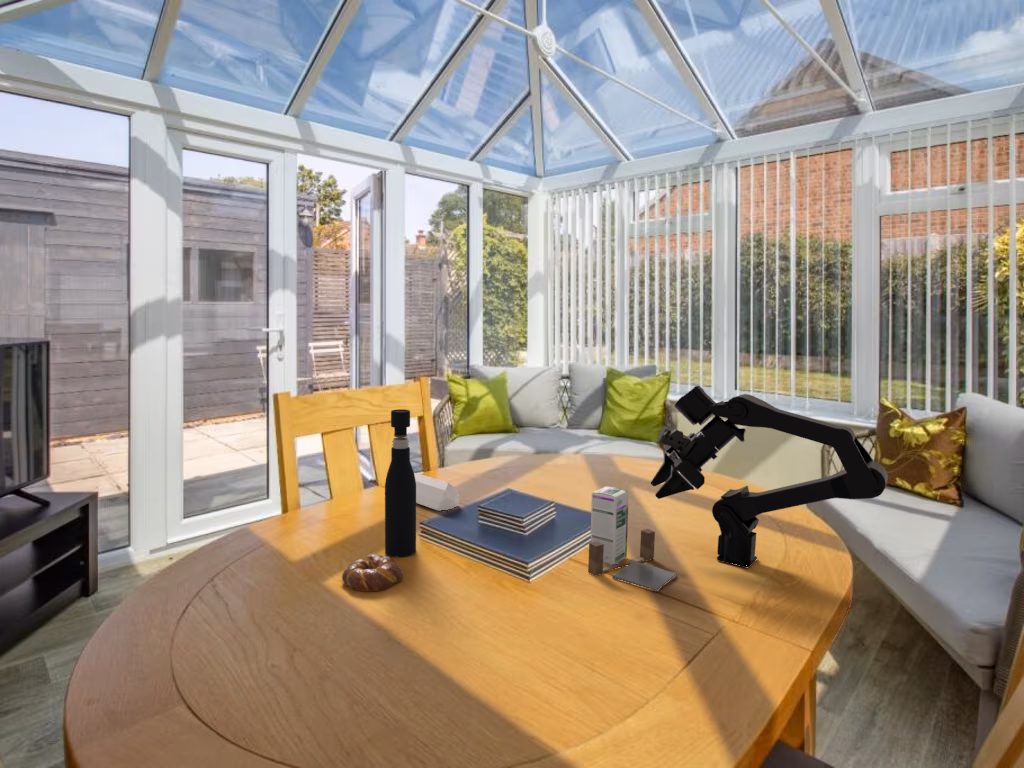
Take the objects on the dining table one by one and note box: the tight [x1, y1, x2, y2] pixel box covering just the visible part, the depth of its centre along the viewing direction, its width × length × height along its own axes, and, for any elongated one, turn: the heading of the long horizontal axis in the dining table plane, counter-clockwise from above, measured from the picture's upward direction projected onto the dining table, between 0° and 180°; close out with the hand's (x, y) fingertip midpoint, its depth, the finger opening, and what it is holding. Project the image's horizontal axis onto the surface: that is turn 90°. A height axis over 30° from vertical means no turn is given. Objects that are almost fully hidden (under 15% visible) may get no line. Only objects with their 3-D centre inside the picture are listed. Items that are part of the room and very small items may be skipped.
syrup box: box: [590, 485, 629, 565], centre depth 122 cm, size 6×6×14 cm
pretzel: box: [341, 553, 404, 592], centre depth 111 cm, size 12×11×4 cm
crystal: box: [414, 472, 460, 512], centre depth 158 cm, size 7×7×24 cm
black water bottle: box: [384, 408, 417, 558], centre depth 122 cm, size 6×6×30 cm
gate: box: [587, 528, 656, 577], centre depth 119 cm, size 16×2×6 cm, turn 122°
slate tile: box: [612, 561, 677, 591], centre depth 114 cm, size 9×9×1 cm
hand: (654, 490), depth 126 cm, fingers open, 9 cm apart
